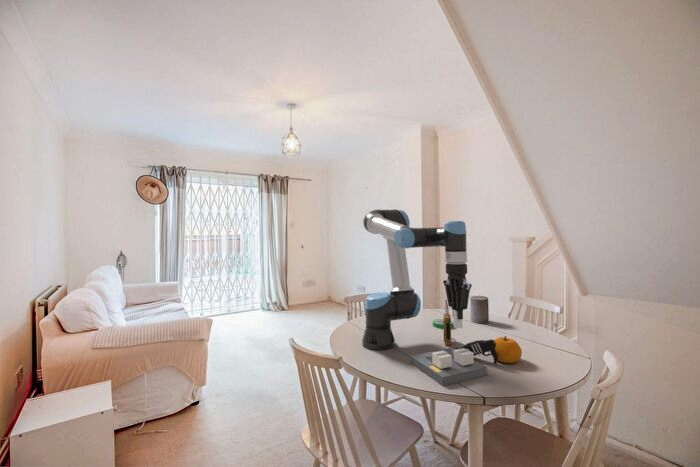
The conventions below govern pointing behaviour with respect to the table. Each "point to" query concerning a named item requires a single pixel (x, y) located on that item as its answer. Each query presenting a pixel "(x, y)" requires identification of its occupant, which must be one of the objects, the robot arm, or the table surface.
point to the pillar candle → (479, 309)
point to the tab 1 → (442, 359)
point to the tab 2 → (463, 356)
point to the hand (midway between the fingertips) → (458, 327)
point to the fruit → (507, 350)
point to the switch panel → (449, 373)
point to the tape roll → (441, 323)
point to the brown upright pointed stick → (448, 329)
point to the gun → (483, 348)
